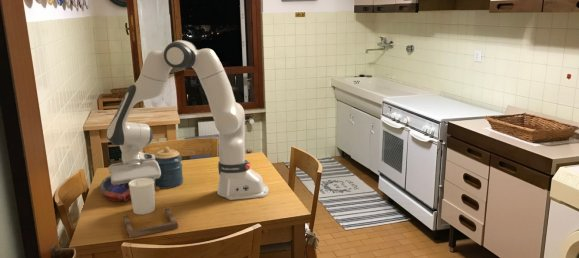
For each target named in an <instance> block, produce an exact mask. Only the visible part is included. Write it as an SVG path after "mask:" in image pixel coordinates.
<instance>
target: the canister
mask: <svg viewBox="0 0 579 258" xmlns="http://www.w3.org/2000/svg"><path fill="white" fill-rule="evenodd" d="M153 155H154V156H155V160H156V161H157V162H158V164H159V167H160V170H161V176H160V178H157V179H153V180H154V181H155V182H154V186H155V187H157V188H160V189H161V188H162V189H171V188H176V187H180V185H182V184H183V182H184V175H183V164H182V160H183V158H182V156H181V155H180V152H179V151H177V150H175V149H170V147H168V146H165V147H163V149H162V150H159V151H157V152H156V153H154V154H153Z"/></svg>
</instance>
